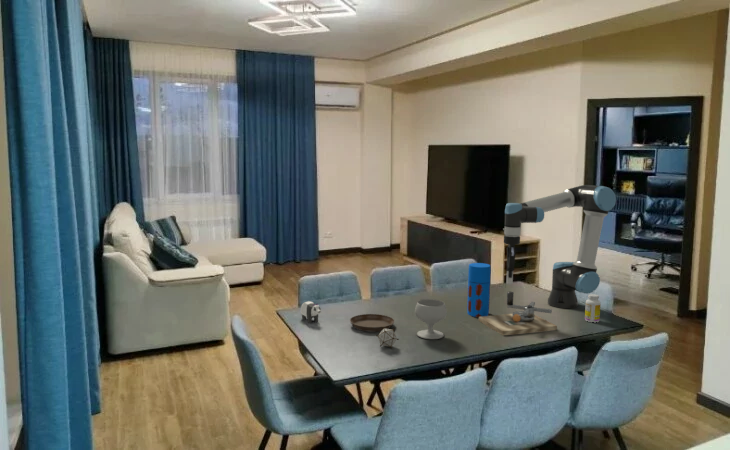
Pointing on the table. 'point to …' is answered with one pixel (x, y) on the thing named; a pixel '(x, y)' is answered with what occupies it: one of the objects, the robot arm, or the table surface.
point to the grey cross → (528, 310)
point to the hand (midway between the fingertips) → (509, 283)
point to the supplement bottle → (592, 308)
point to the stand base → (516, 324)
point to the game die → (387, 337)
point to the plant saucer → (371, 322)
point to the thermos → (478, 289)
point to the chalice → (430, 316)
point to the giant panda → (310, 311)
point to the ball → (516, 318)
